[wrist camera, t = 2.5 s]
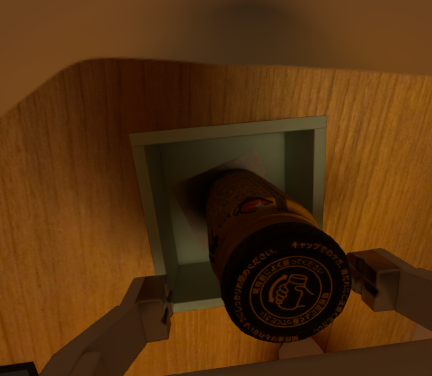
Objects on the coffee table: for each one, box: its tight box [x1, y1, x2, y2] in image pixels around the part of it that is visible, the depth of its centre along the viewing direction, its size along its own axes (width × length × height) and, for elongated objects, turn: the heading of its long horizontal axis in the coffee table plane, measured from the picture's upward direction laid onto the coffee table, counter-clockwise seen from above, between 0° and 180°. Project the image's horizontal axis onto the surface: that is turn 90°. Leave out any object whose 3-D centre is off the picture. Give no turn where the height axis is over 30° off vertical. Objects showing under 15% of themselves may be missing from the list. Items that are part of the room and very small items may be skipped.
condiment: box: [170, 149, 352, 343], centre depth 14 cm, size 7×8×12 cm
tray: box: [129, 115, 326, 313], centre depth 17 cm, size 14×13×5 cm
